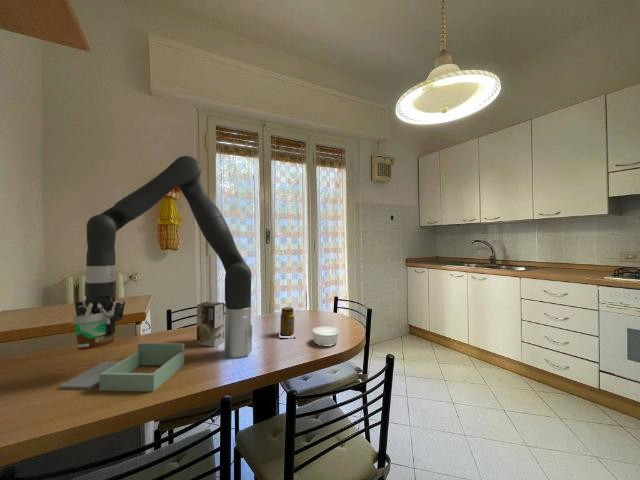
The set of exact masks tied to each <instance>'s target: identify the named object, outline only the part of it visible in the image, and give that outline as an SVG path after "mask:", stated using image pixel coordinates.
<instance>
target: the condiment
mask: <svg viewBox="0 0 640 480" xmlns="http://www.w3.org/2000/svg"><path fill="white" fill-rule="evenodd" d="M279 324H280V326H279V328H280V332H279V333H280V335H281V336H291V335H293V334H295V314H294V307H287V306H285V307H283V308H281V314H280V323H279ZM278 339H279V340H281V339H280V338H279V337H278Z"/></svg>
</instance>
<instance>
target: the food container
mask: <svg viewBox="0 0 640 480" xmlns="http://www.w3.org/2000/svg"><path fill="white" fill-rule="evenodd" d="M113 309H114V310H115V308H114V307H113ZM111 312H112V310H111V311H108V312H107V313H111ZM112 317H113V315H110V319H111V318H112ZM106 319H108V318H107V317H106V316H105V315H104V313H96V314H92V315H84V316H77V315H75V316H73V318H72V322H71V323H72V325H74V330H75V336H76V341H77V342H76V343H77V348H78V349H77V350H78V351H83V350H91V349H96V348H100V347H105V346H106V345H109V344H111V343H113V342H114V341H115V340H114V339H115V332H114V333H113V335H111V336H106V324H107V322H106Z"/></svg>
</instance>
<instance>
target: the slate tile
mask: <svg viewBox="0 0 640 480" xmlns="http://www.w3.org/2000/svg"><path fill="white" fill-rule="evenodd" d="M119 362H120V361H111V360H110V361H102V362H100V363H99V364H97V365H94V366H93V367H91V368H90V369H88V370H86V371H83V373H80V374H79V375H77V376H75V377H73V378H72V379H70V380H68V381H66V382H64V383H62V384H61V385H59V388H58V390H90V391H91V390H93V389H95V388H96V387H98V386H99V378H100V374H101V373H103V372H104V371H106V370H108V369H109V368H111V367H113V366H114V365H116V364H118V363H119Z"/></svg>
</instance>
